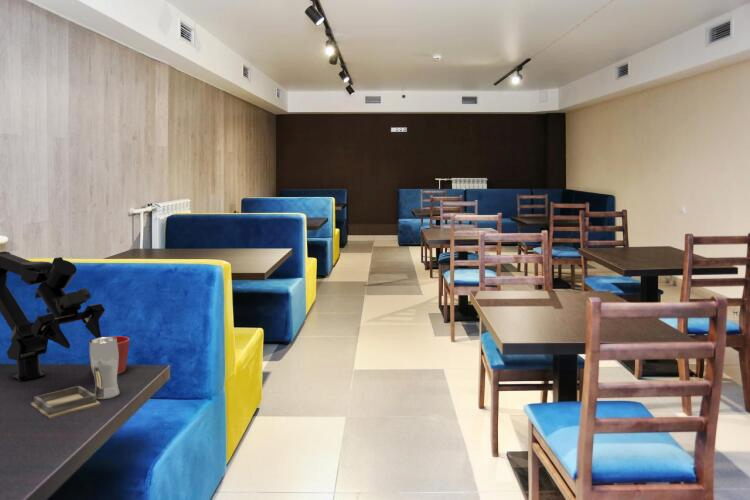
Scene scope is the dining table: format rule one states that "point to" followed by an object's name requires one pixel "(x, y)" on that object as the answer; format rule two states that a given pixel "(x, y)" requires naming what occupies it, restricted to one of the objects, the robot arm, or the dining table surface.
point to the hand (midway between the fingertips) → (85, 343)
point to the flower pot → (122, 352)
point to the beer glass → (104, 366)
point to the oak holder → (64, 401)
